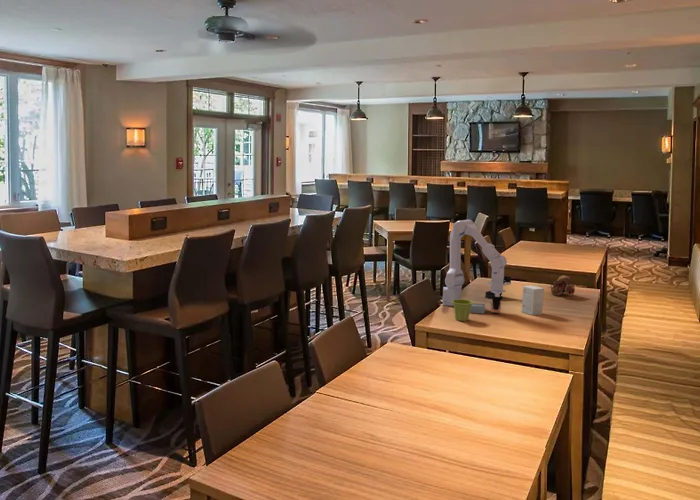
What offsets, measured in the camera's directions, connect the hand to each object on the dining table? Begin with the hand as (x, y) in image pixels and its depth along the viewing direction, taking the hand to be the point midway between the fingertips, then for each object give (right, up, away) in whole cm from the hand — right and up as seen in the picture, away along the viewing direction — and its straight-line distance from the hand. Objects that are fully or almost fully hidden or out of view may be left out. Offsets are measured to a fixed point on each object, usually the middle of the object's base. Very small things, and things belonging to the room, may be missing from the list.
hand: (495, 308), depth 300 cm
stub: (0, -1, 0) cm, 1 cm away
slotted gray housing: (-9, -2, +2) cm, 10 cm away
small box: (+18, -3, +2) cm, 19 cm away
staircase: (+9, +2, +33) cm, 34 cm away
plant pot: (-19, -4, -13) cm, 24 cm away
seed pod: (+47, +3, +44) cm, 64 cm away
